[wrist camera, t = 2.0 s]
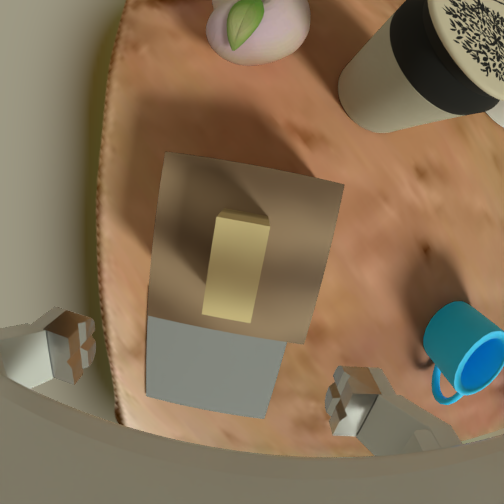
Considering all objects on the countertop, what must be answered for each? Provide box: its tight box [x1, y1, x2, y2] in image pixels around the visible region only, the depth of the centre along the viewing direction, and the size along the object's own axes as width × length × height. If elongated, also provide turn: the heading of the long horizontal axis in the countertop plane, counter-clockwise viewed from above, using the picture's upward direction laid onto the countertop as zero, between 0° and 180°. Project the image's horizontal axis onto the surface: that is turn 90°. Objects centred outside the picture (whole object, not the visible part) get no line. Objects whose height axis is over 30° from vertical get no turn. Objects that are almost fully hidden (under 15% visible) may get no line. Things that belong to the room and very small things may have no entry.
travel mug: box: [338, 0, 504, 133], centre depth 17 cm, size 8×8×18 cm
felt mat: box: [146, 316, 287, 419], centre depth 33 cm, size 15×15×1 cm
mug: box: [423, 301, 504, 405], centre depth 29 cm, size 12×8×8 cm
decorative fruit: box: [206, 0, 311, 66], centre depth 20 cm, size 9×8×10 cm
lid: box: [147, 152, 344, 344], centre depth 20 cm, size 12×12×5 cm
